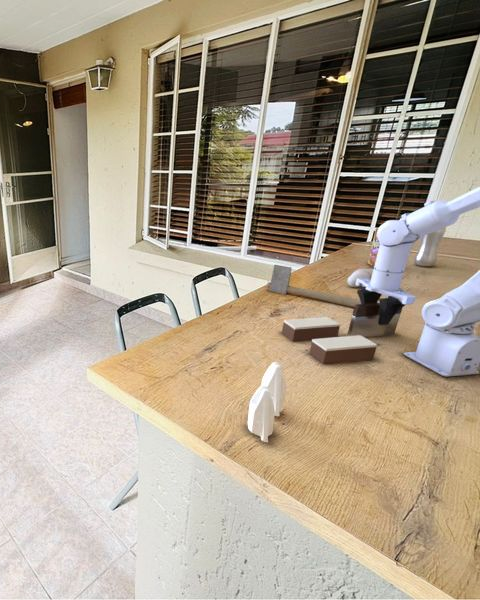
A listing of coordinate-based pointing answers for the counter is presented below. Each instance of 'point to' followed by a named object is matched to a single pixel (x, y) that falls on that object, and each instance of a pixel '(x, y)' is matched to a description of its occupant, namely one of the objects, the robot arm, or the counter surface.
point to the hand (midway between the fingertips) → (374, 320)
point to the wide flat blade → (370, 321)
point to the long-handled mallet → (282, 286)
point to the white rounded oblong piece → (359, 276)
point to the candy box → (374, 250)
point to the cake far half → (310, 328)
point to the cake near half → (342, 349)
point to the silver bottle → (429, 248)
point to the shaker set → (267, 402)
